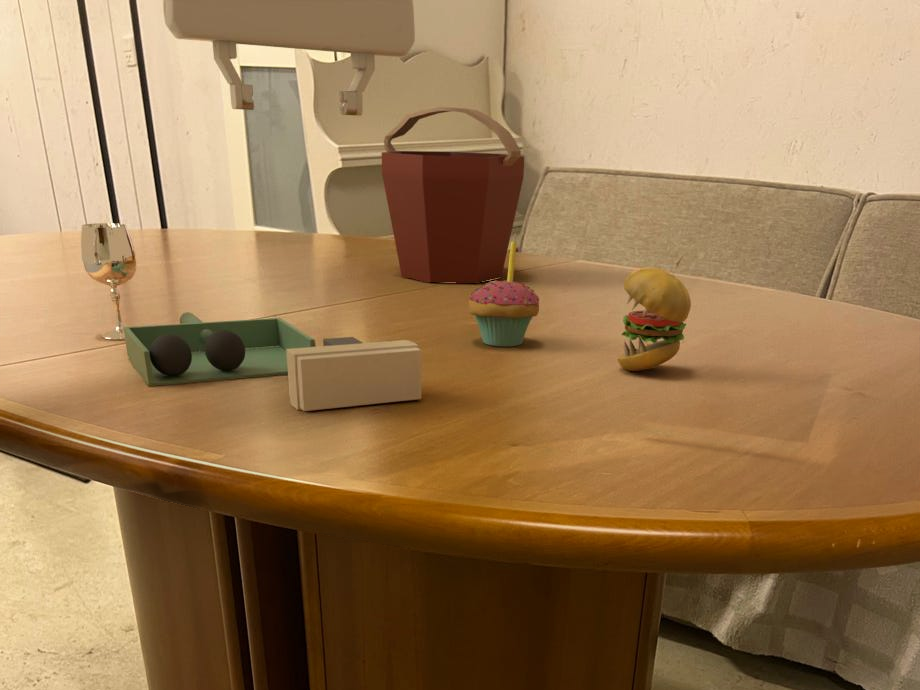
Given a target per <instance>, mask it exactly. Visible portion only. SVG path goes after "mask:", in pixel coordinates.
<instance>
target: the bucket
mask: <svg viewBox="0 0 920 690" xmlns="http://www.w3.org/2000/svg"><path fill="white" fill-rule="evenodd" d="M450 112H455V113H456V112H457V113H462V114H466V115H467V116H470V117H471V118H474V119H475V120H476V121H478V122H480V123H482V124H483V125H485V126H486V127H487V128H488V129H489V130H491V131H492V132H493V133H494V134H495V135H496V136H497V137H498V139H499V141H500V142H501V144H502V145H503V147H504V148H505V150H506V152H507V153H492V152H469V151H447V150H445V151H444V150H443V151H441V150H440V151H439V150H438V151H436V150H433V151H432V150H431V151H430V150H396V148H395V147H394V145H393V144H392V140H394V139H396V138H399V137H403V136H405V135H406V134H407V133H408V132H409V131H410V130H412V128H413V127H414V126H415V125H416V124H417V122H418V121H419V120H422V119H425V118H428V117H431V116H434V115H438V114H443V113H450ZM383 145H384V150H385V151H382V152H381V177H382V181H383V186H384V191H385V197H386V202H387V207H388V213H389V217H390V222H391V223H390V224H391V228H392V233H393V238H394V243H395V249H396V253H397V257H398V258H397V259H398V264H399V270H400V275H401V277H402V276H403V277H407V278H406V279H408V278H412V279H411V280H413V279H416V280H415V281H417V280H420V281H419V282H422V281H425V282H424V283H427V282H456V283H478V282H482V281H486V280H490V279H495V278H499V277H501V278H502V277H503V273H504V267H505V264H506V258H507V254H508V250H509V245H510V242H511V236H512V231H513V227H514V222H515V218H516V214H517V208H518V204H519V199H520V194H521V191H522V186H523V181H524V173H525V156H523V155H522V153H521V152H522V151H521V149H520V146H519V145H518V143H517V141H516V140H515V138H514V137H513V135H512V133H511V132H510V131H509V130H508V129H507V128H505V126H503V125H502V124H501V123H499V122H498V121H497V120H495V119H493V118H492V117H490V116H488V115H487V114H485V113H483V112H481V111H479V110H477V109H471V108H464V107H448V106H447V107H443V106H440V107H439V106H438V107H434V108H428V109H423V110H418V111H415V112H411V113H409V114H405V116H404V117H403V118H402V119H401V120H400V122H398V124H396V125H395V126H394V128H392V129H391V130H390V131H389V132H388V133H387V134H386V135H385V136H384V140H383ZM403 277H402V278H403Z"/></svg>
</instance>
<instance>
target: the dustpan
mask: <svg viewBox="0 0 920 690" xmlns="http://www.w3.org/2000/svg"><path fill="white" fill-rule="evenodd" d="M123 329H124V335H125V348H126V354H127V357H128V360H129V362H130V363H131V364H132V366H133V367H134V368H135V370H136V371H137V372H138V374H139V376H141V378H142V379H143V380H144V382H145V383H146V384H147V385H148V387H156V386H167V385H168V386H169V384H170V385H180V384H179V383H181V384H188V383H187V382H193V383H199V382H198V381H205V382H214V381H213V380H216V381H227V379H228V380H237V379H238V378H239V379H249V378H259V377H260V378H261V377H262V376H263V377H272V376H273V377H274V376H285V375H288V366H287V352H286V349H293V348H306V347H316V340H315V338H312V337H311V336H310V335H308V334H306V333H305V332H303V331H301V330H300V329H298V328H297V327H295V325H292V324H291V323H289V322H287V321H286V320H284V319H283V318H281V317H270V318H269V317H268V318H253V319H251V318H250V319H237V320H220V321H219V320H218V321H202V319H200V318H199V317H197V316H196V315H195V314H194V313H192V312H187V311H186V312H184V313H182V314H181V315H180V317H179V323H170V324H169V323H168V324H154V325H138V326H137V325H136V326H124V327H123ZM219 330H228V331H231V332H234V333H235V334H237V335H238V336H239V337H240V338H241V340H242V341H243V343H244V346H245V358H244V360H243V362H242V364H241V365H240V366H239V367H238V368H236V369H234V370H231V371H222V370H219V369H217V368H215V367H214V366H212V365H211V364H210V362H209V361H208V359H207V357H206V355H205V343H206V341H207V339H208V337H209V336H210V335H211V334H212V333H214V332H216V331H219ZM165 334H172V335H176V336H179V337H180V338H182V339H183V340H184V341H185V342H186V343H187V344H188V345H189V347H190V350H191V353H192V361H191V364H190V367H189V368H188V370H187V371H186V372H184V373H183V374H181V375H178V376H167V375H164V374H162V373H160V372H159V371H158V370H157V369H156V368H155V367H154V366H153V364H152V362H151V360H150V354H149V352H150V347H151V344H152V343H153V341H154V340H155V339H156V338H158V337H159V336H161V335H165Z"/></svg>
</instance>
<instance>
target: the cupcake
mask: <svg viewBox="0 0 920 690" xmlns="http://www.w3.org/2000/svg"><path fill="white" fill-rule="evenodd" d="M516 237H517V234H516V233H514V234H513V241H510V249H509V259H508V269H507V279H505V280H502V279H499V280H494V281H489V282H484V284H483V285H482V286H480V287H478V288H476V289H475V290H474V291H473V292H472V293H471V296H469V297H468V299H469V301H468V310H469V313H470V315H472V316H474V318H475V321H477V325H478V329H479V331H480V336H481V339H482V343H484V345H487V346H492V347H499V348H511V347H518V346H520V345H522V344H523V341H524V338H525V336H526V332H527V330H528V328H529V325H530V322H531V321H532V319H533V317H536V316H538V314H539V311H540V297H539V296H538V295H537V293H536V292H535V290H533V289H532V288H530V287H529V286H528V285H525V284H524V283H522V284H521V283H519V282H516V281H513V280H514V271H515V263H516V252H517V243H518V242H517V241H516Z"/></svg>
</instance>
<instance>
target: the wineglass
mask: <svg viewBox="0 0 920 690" xmlns="http://www.w3.org/2000/svg"><path fill="white" fill-rule="evenodd" d="M80 236H81V237H80V252H81V260H82V264H83V267H84V269H85V272H86V273H87V275H88V276H89V277H90V278H91V279H92V280H94V281H96V282H98V283H100V284H102V285H105V286H108V287H111V289H110V291H109V292H110V294H109V295H110V298H111V301H112V303H113V307H114V310H115V317H116V326H115V328H114V329H113V330H111V331H109V332H105V333H103V334H101V338H102V339H105V340H113V341H123V340H125V335H124V329H123V327H125V326H124V324H123V321H122V317H121V310H120V300H121V295H120V292H119V290H118V288H117V287H118V286H121V285H123V284H126V283H127V282H129V281H130V280H131V279H133V277H134V276H135V274H136V271H137V255H136V251H135V246H134V243H133V240H132V238H131V235H130V232H129V229H128V226H127V225H126V224H124V223H113V222H111V223H110V222H102V223H101V222H99V223H96V222H95V223H87V224H82V225H81V234H80Z"/></svg>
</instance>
